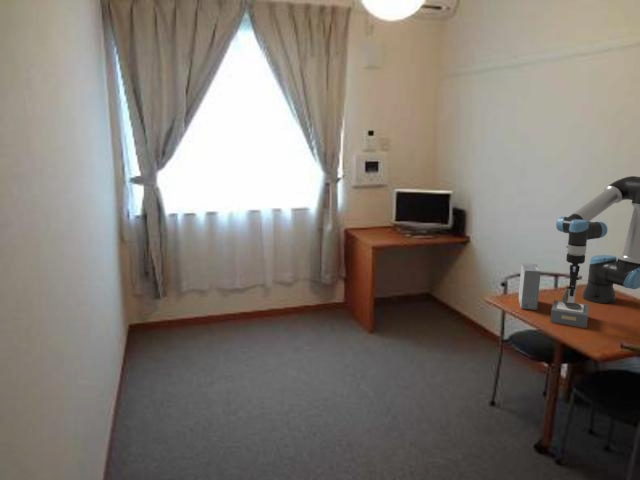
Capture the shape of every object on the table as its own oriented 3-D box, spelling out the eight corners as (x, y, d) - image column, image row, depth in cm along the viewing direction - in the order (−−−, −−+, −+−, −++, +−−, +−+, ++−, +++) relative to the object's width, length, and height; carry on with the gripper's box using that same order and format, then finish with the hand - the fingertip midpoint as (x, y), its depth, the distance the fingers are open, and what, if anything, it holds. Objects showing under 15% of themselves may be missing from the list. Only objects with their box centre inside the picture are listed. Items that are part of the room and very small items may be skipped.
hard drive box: (537, 310, 249) (541, 271, 244) (520, 309, 251) (524, 270, 246) (533, 300, 263) (536, 263, 259) (517, 298, 265) (520, 262, 261)
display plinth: (587, 316, 240) (588, 304, 238) (586, 328, 227) (587, 314, 225) (552, 311, 247) (554, 299, 246) (550, 322, 234) (551, 309, 233)
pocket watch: (582, 310, 231) (584, 289, 229) (562, 308, 233) (564, 288, 231) (578, 304, 239) (580, 283, 237) (558, 302, 241) (560, 282, 238)
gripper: (568, 246, 242) (564, 288, 247) (565, 259, 221) (560, 305, 226) (586, 248, 239) (581, 290, 244) (584, 261, 217) (579, 307, 222)
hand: (571, 297), depth 235 cm, fingers open, 13 cm apart
